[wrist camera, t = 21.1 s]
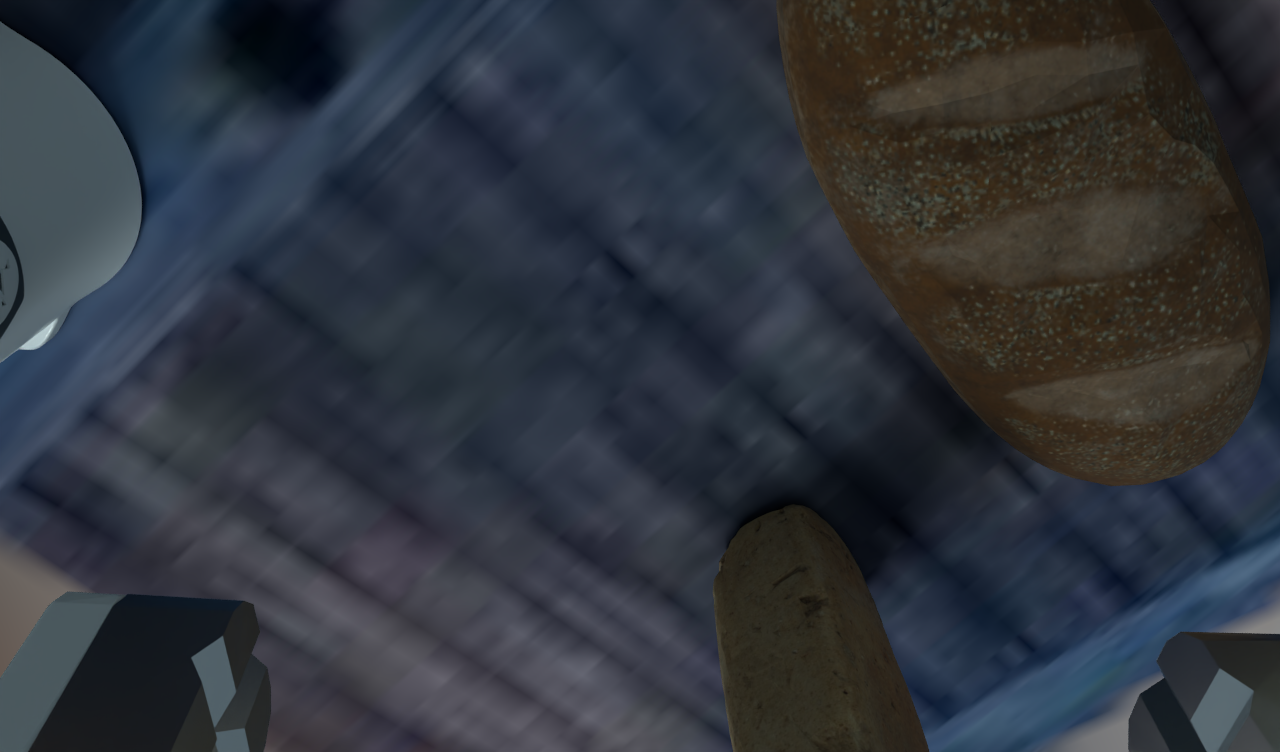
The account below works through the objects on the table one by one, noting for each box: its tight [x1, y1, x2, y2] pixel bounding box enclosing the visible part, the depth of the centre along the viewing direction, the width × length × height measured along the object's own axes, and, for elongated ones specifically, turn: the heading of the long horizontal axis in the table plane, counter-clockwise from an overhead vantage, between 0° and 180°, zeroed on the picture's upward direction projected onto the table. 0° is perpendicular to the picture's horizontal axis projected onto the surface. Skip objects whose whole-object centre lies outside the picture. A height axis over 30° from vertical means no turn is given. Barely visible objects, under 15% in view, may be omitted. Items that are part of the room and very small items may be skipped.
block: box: [713, 504, 929, 752], centre depth 53 cm, size 11×8×20 cm
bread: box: [777, 0, 1270, 486], centre depth 45 cm, size 16×36×8 cm, turn 37°
